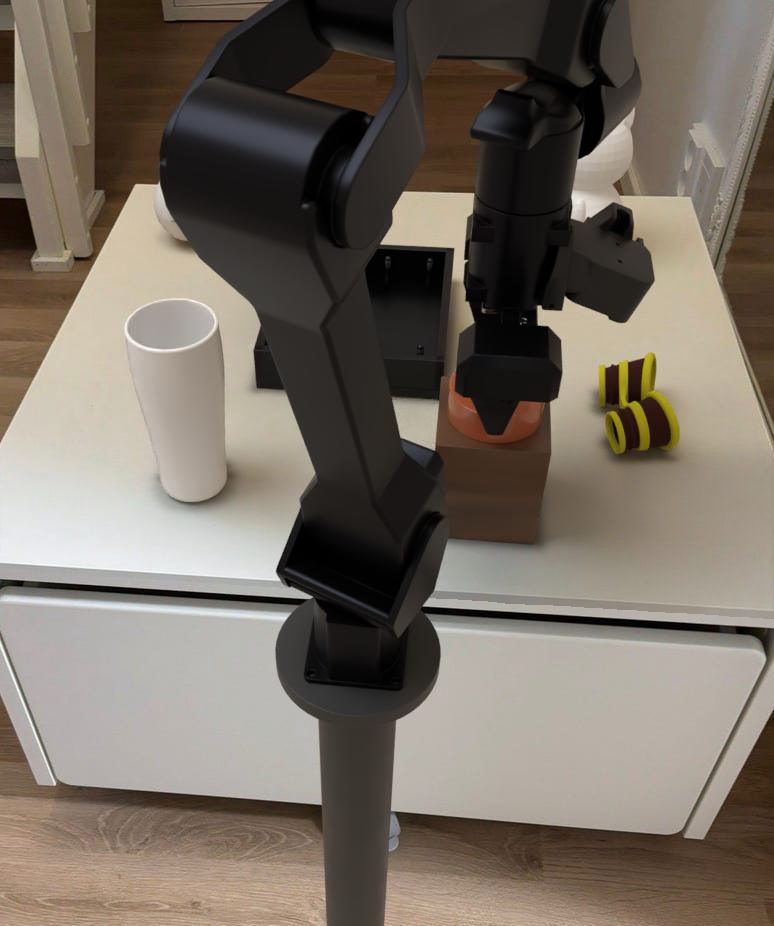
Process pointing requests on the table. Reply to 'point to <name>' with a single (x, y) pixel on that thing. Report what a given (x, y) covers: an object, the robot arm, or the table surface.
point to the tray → (398, 319)
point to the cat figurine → (602, 172)
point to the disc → (471, 425)
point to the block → (493, 480)
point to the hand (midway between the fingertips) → (495, 402)
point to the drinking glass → (181, 393)
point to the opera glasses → (636, 407)
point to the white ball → (166, 215)
